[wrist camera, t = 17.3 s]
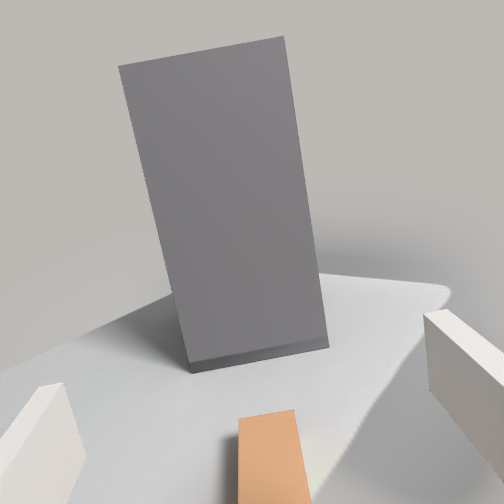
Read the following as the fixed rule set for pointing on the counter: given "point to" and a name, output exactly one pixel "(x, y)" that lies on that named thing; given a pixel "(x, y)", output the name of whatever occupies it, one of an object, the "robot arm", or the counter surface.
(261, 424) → the slat
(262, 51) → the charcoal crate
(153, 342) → the counter surface
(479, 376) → the robot arm
